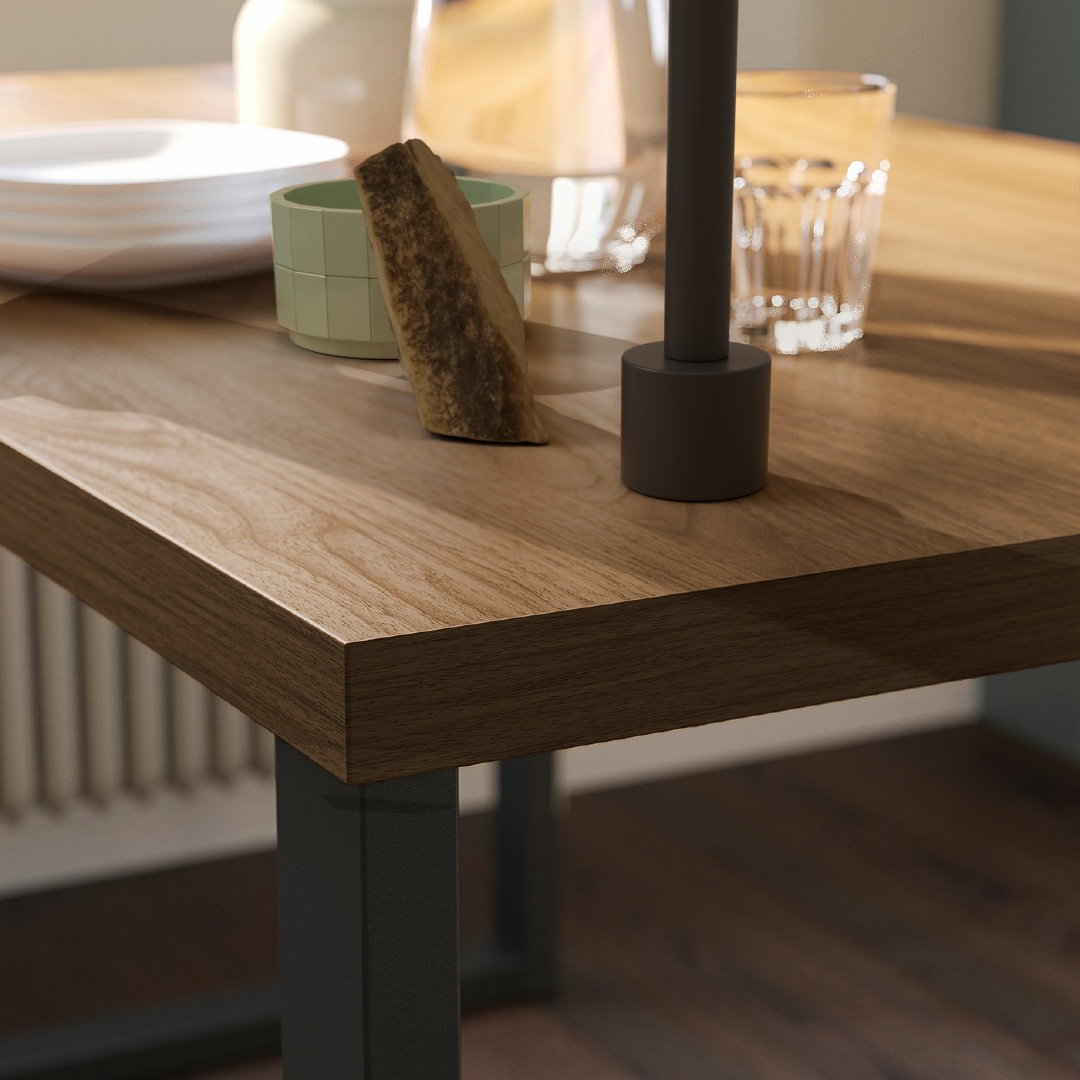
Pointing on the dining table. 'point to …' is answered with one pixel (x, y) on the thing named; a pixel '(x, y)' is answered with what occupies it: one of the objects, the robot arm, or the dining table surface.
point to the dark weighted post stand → (697, 292)
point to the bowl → (371, 261)
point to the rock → (446, 300)
